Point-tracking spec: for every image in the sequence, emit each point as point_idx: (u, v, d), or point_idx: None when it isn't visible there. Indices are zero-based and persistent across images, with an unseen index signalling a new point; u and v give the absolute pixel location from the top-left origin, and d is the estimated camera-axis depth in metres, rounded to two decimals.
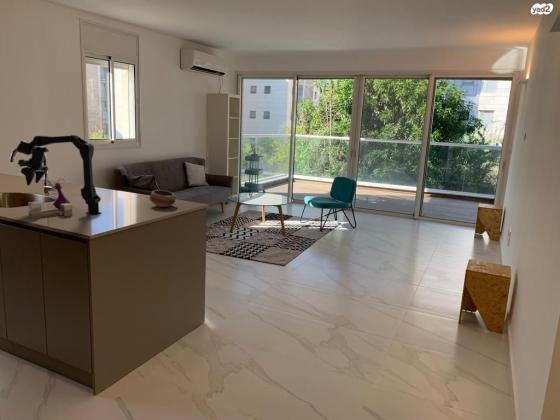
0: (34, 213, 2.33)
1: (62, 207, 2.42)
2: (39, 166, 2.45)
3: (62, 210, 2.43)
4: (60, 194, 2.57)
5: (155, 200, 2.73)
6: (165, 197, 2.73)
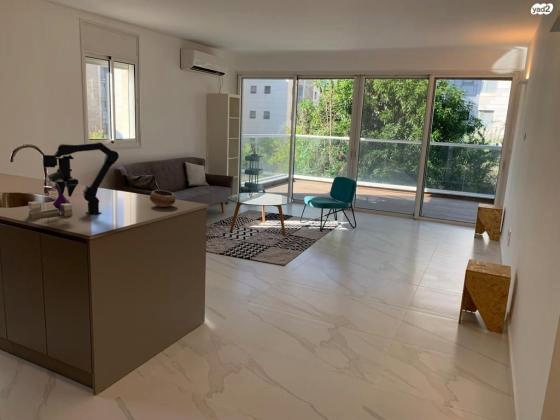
0: (34, 213, 2.33)
1: (62, 207, 2.42)
2: (70, 175, 2.42)
3: (62, 210, 2.43)
4: (60, 194, 2.57)
5: (155, 200, 2.73)
6: (165, 197, 2.73)
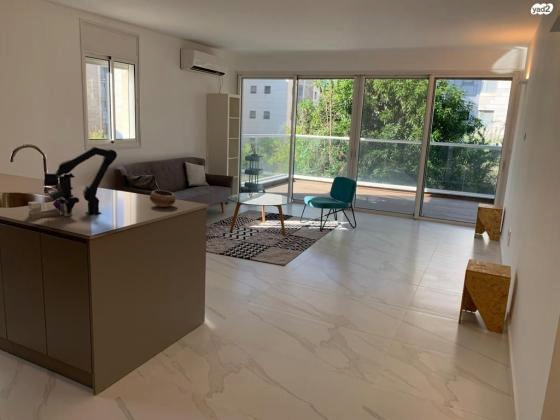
0: (34, 213, 2.33)
1: (62, 207, 2.42)
2: None
3: (62, 210, 2.43)
4: None
5: (155, 200, 2.73)
6: (165, 197, 2.73)
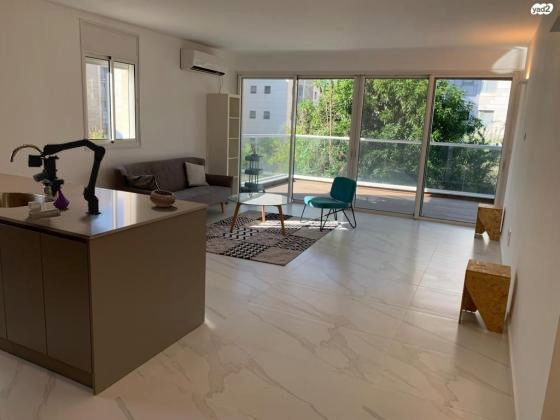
0: (34, 213, 2.33)
1: (47, 189, 2.38)
2: None
3: (47, 192, 2.38)
4: (60, 194, 2.57)
5: (155, 200, 2.73)
6: (165, 197, 2.73)
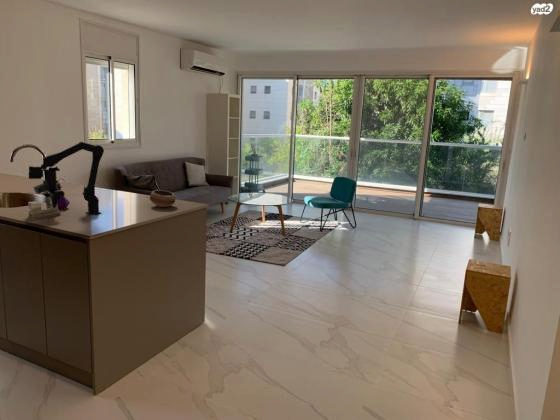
0: (34, 213, 2.33)
1: (47, 201, 2.39)
2: (56, 186, 2.41)
3: (47, 204, 2.40)
4: None
5: (155, 200, 2.73)
6: (165, 197, 2.73)
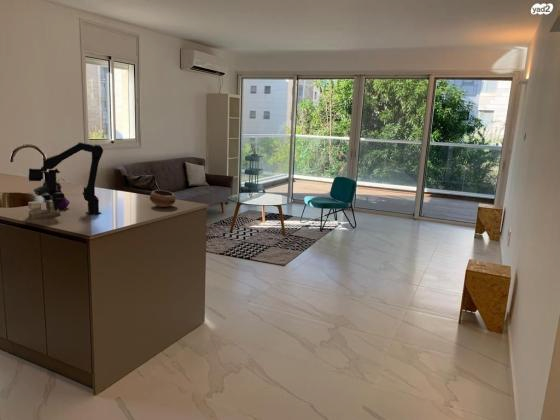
0: (34, 213, 2.33)
1: (47, 203, 2.40)
2: (56, 188, 2.41)
3: (47, 206, 2.40)
4: None
5: (155, 200, 2.73)
6: (165, 197, 2.73)
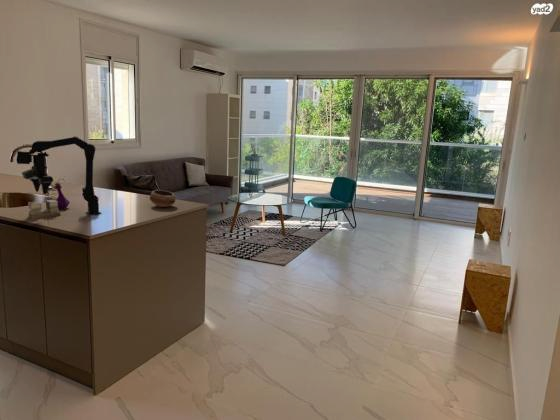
0: (34, 213, 2.33)
1: (47, 203, 2.40)
2: (45, 172, 2.39)
3: (47, 206, 2.40)
4: (60, 194, 2.57)
5: (155, 200, 2.73)
6: (165, 197, 2.73)
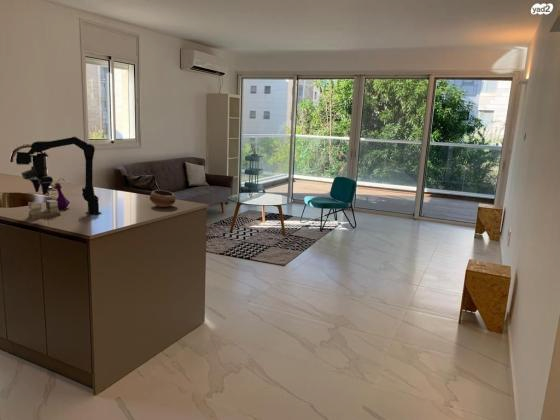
0: (34, 213, 2.33)
1: (47, 203, 2.40)
2: None
3: (47, 206, 2.40)
4: (60, 194, 2.57)
5: (155, 200, 2.73)
6: (165, 197, 2.73)
